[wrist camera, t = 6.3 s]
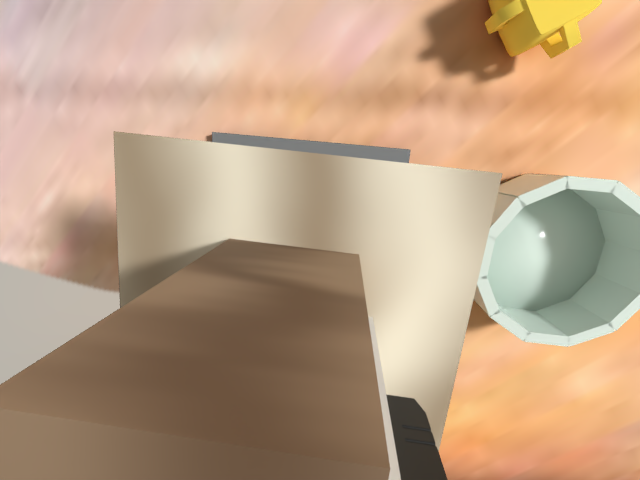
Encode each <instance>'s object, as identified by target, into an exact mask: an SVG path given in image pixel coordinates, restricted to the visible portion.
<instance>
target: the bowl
mask: <svg viewBox="0 0 640 480" xmlns="http://www.w3.org/2000/svg"><path fill="white" fill-rule="evenodd" d="M474 301H475V302H476V303H477V304H478V305H479V306H480V307H481V308H482V309H483V310H484V311H485V312H486V313H487V314H488V316H489V317H490V318H492V319H493V320H494V321H496V322H497V323H499V324H500V325H501V326H503V327H504V328H506V329H507V330H508V331H510V332H511V333H513V334H514V335H515V336H517V337H518V338H520V339H521V340H522V341H525V342H532V343H541V344H550V345H558V346H567V347H568V346H573V345H576V344H579V343H582V342H585V341H588V340H591V339H594V338H597V337H600V336H603V335H606V334H609V333H612V332H614V330H615V331H616V330H617V329H618V328H620V327H621V326H622V325H623V324H624V323H625V322H626V321H627V320H628V319H629V318H630V317H631V316H632V315H634V314H635V313H636V312H637V311H638V310H639V309H640V197H639V196H638V195H636V194H635V193H634V192H633V191H631V190H630V189H629V188H627V187H626V186H625V185H624V184H622V183H621V182H620V181H617V180H606V179H595V178H584V177H573V176H559V175H543V174H524V175H521V176H519V177H517V178H514V179H512V180H509V181H507V182H505V183H502V184H500V186H499V191H498V195H497V199H496V204H495V208H494V212H493V217H492V221H491V225H490V230H489V234H488V238H487V243H486V247H485V251H484V256H483V260H482V265H481V269H480V273H479V278H478V282H477V286H476V291H475V295H474Z"/></svg>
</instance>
